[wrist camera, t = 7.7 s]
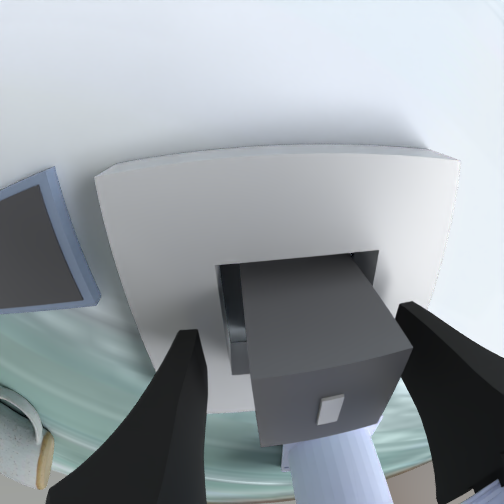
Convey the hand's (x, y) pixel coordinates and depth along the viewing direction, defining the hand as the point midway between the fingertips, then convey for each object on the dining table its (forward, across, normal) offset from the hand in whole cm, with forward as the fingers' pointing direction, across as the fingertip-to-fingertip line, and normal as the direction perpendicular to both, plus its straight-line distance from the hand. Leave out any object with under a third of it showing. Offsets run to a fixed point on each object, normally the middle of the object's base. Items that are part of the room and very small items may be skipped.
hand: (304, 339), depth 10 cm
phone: (+3, +14, -3) cm, 15 cm away
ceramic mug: (+3, +25, +13) cm, 28 cm away
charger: (+3, 0, 0) cm, 3 cm away
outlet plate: (+3, 0, 0) cm, 3 cm away
